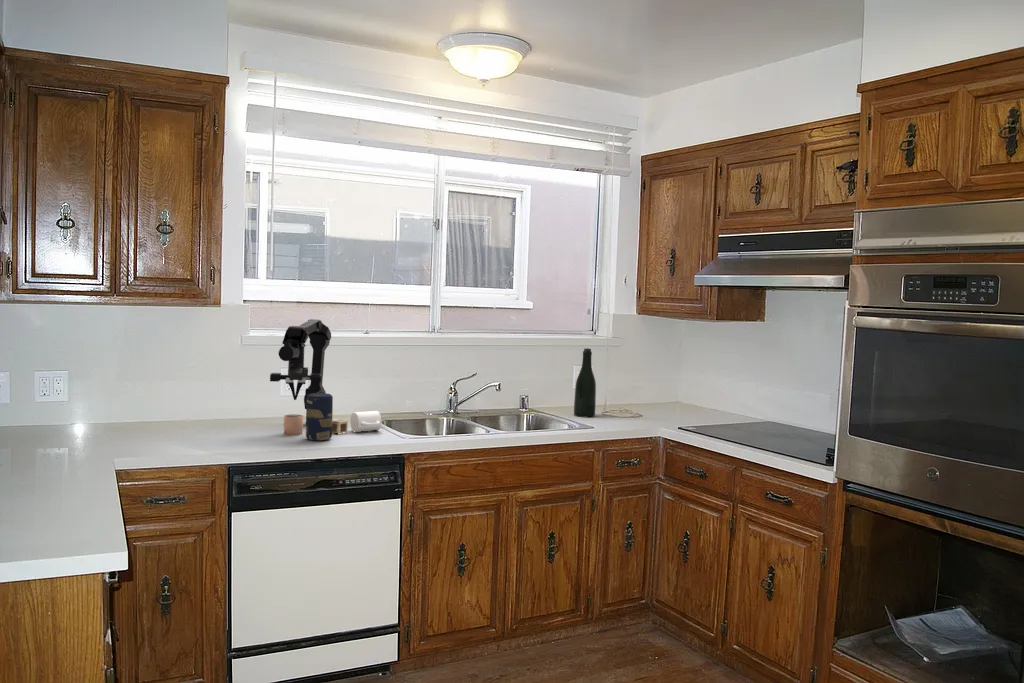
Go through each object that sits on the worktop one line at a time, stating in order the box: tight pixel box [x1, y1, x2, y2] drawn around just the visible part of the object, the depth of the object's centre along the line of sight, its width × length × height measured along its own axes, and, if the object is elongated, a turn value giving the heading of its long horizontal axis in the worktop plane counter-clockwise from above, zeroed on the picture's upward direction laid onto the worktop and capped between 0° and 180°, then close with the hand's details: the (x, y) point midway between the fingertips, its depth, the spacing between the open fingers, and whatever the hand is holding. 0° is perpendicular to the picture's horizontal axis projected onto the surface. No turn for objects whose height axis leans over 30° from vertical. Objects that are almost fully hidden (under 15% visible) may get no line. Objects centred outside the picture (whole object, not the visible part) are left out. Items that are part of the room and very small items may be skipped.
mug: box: [349, 410, 382, 433], centre depth 303 cm, size 12×10×8 cm
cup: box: [283, 413, 304, 436], centre depth 293 cm, size 7×7×7 cm
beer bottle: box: [573, 348, 597, 417], centre depth 371 cm, size 10×10×33 cm
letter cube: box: [332, 418, 349, 433], centre depth 299 cm, size 5×5×5 cm
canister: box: [305, 391, 334, 441], centre depth 283 cm, size 10×10×18 cm
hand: (295, 399), depth 292 cm, fingers closed
